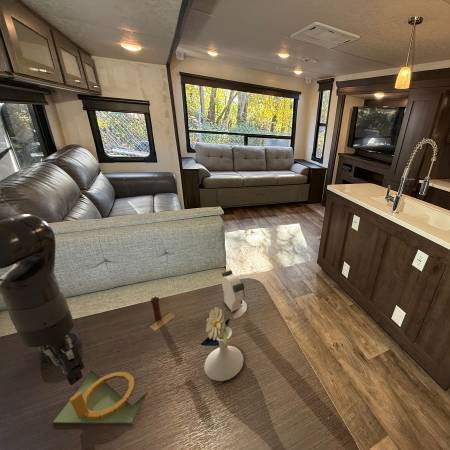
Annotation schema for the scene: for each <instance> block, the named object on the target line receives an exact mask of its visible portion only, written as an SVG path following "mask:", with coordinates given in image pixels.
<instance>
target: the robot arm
mask: <svg viewBox="0 0 450 450" xmlns="http://www.w3.org/2000/svg"><path fill="white" fill-rule="evenodd" d="M55 235H56V234H55V232H54V231H53V228H52V227H51V226H50V224H49V223H48V222H47V221H46V220H45V219H43V218H41V217H40V216H37V215H34V214H29V213H22V214H17V215H13V216H10V217H7V218H4V219H2V220H0V270H2V269H6V268H9V267H10V268H9V269H8V270H6V271H5V272H4V273H3V274H2V275H1V276H0V295H1V297H2V299H3V301H4V303H5V305H6V307H7V311H8V315H9V318H10V320H11V322H12V324H13V326H14V329H15V331H16V332H17V334H18V337H19V338H20V341H21V343H22V344H23V346H25V347H27V348H37V349H38V351H39V350H40V351H41V352H43V353H44V354H45V356H46V358H47V361H48V362H47V363H48V364H49V365H50V366H53V365H54V366H55V367H60V369H61V371H62V373H63V374H64V375H65V378H66V380H67V383H68V384H69V385H70V386H73V385H74V384H76V383H78V381H80V380H81V379H83V377H84V376H83V372H82V370H84V369H85V364H84V363H83V359H82V358H81V355H80V353H79V350H78V349H77V347H75V346H74V347H73V346H72V344H71V342H72V341H71V339H70V338H69V336H67V334H68V333H69V332H71V331H72V330H73V328H74V325H75V320H74V318H73V316H72V315H73V314H72V312H71V310H70V309H71V308H70V307H69V305H68V301H67V298H66V296H65V295H64V293H63V291H62V289H61V287H60V284H59V281H58V279H57V276H56V274H55V266H56V248H57V247H56V245H57V244H56V236H55Z"/></svg>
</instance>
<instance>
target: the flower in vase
mask: <svg viewBox="0 0 450 450" xmlns="http://www.w3.org/2000/svg"><path fill="white" fill-rule="evenodd" d="M225 322H226V320H225V315H224V311H223V310H222V308H219V307H214V309H211V310H210V312H209V318H207V319H206V327H205V328H206V329H205V333H207V338H208V337H209V338H210V339H211V338H212V336H213V340H215V339H216V340H218V342H219V346H218V347H217V348H214V350H212V351H211V352H210V353H209V354H208V356H207V357H206V359H205V362H204V372H205V374H206V376H207V377H208V378H209V379H211V380H213V381H217V382H225V381H228V380H231V379H232V378H234V377H235V376H236V375H237V374H239V372H240V371H241V370H242V368H243V366H244V355H243V353H242V352H241V350H240V349H239V348H237V347H235V346H234V345H228V343H229V339H230V338H231V337H232V334H233V330H232V328H230V327H229V326H228V327H226V324H225Z"/></svg>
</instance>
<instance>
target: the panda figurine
mask: <svg viewBox="0 0 450 450" xmlns="http://www.w3.org/2000/svg"><path fill="white" fill-rule="evenodd" d="M221 276H222V279H221V287H222V291H223V298H224V304H225V305H226V306H227V307H228V308H229V309H230V312H231V313H233V312H234V313H233V314H232V315H231V316H230V317H229V318H230V320H234V318H235V319H238V318H240V317H242V316H244V314H246V312H247V309H248V304H247V303H246V301H245V300H244V299H245V297H246V296H245V295H246V293H245V285H244V283H243V282H241V280H240V279H239V278H238V276H237V275H236V274H234V273H233V271H232V269H229V270H226V271H224V272H221Z"/></svg>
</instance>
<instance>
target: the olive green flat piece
mask: <svg viewBox="0 0 450 450" xmlns="http://www.w3.org/2000/svg"><path fill="white" fill-rule="evenodd" d="M100 378H101V377H100V376H99V375H98V374H97V373H96V372H95V371H94V370H91V372H90V373H89V375H88V376H87V377H86V378H85V380H84V381H83V383H81V385H80V386H79V388H77V390H76V391H75V393H73V395H72V397H73V396H74V395H75V394H77V393H78V392H81V393H82V396H83V395H84V393H85V392H86V391H87V389H88V388H89V387H90V386H91V385H92V384H93V383H95V382H96V381H98V380H99V379H100ZM148 393H149V391H147V392H145V394H143V395H142V396H141V397H140V398H139V399H138V400H137V401H136V402H135V403H133V404H131V403H130V402H129V401H127V403H126V404H125V405H124V406H123V407H122V408H120V409H119V410H118V411H117V412H115V413H114V414H112V415H109V416H107V417H105V418H103V419H101V418H100V419H99V420H88V419H86V418H85V417H84V416H83V417H82V418H80V419H79V418H78V417H77V415H76V413H75V411H74V408H73V406H72V404H71V402H70V400H68V401H67V403H66V404H65V406H64V407H63V408H62V409H61V410H60V412H59V413H58V414H57V416H56V417H55V419H54V420H53V421H52V423H53V424H133V422H134V420H135V418H136V416H137V415H138V413H139V410H140V409H141V406H142V405H143V404H144V403H143V402H144V401H145V399H146V397H147V395H148ZM123 397H124V396H122V395H121V394H120V393H119V392H118V391H116V390H115V389H114V388H113V387H112V386H110V384H108V383H107V381H105V383H104V384H102V385H101V386H100V387H98V388H97V389H96V390H94V392H93V393H92V394H91V396H90V397H89V399H88V400H87V408H88V409H89V410H90V411H91V412H101V411H103V410H106V409H108V408H110V407H113V406H114V405H115V404H116V403H118V402H119V401H120V400H121V399H122V398H123Z"/></svg>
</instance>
